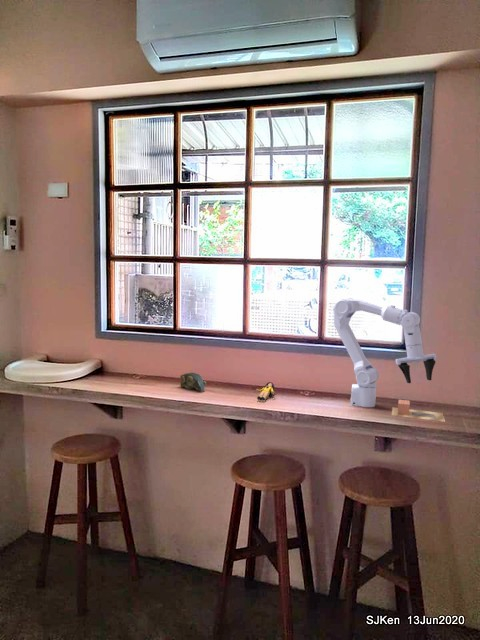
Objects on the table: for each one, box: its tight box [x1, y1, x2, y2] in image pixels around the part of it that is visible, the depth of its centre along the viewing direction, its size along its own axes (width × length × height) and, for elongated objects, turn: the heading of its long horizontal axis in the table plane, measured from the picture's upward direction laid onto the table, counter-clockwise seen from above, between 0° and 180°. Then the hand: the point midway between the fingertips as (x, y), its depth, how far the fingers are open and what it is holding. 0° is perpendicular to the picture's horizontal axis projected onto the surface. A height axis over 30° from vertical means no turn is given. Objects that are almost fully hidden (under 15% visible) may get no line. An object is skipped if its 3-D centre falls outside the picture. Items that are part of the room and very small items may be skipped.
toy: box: [255, 381, 275, 403], centre depth 195 cm, size 8×4×15 cm
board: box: [391, 406, 446, 423], centre depth 173 cm, size 18×11×1 cm, turn 71°
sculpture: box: [180, 372, 207, 393], centre depth 205 cm, size 13×6×7 cm, turn 42°
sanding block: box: [397, 399, 411, 415], centre depth 175 cm, size 4×6×4 cm, turn 161°
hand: (419, 381), depth 172 cm, fingers open, 7 cm apart
